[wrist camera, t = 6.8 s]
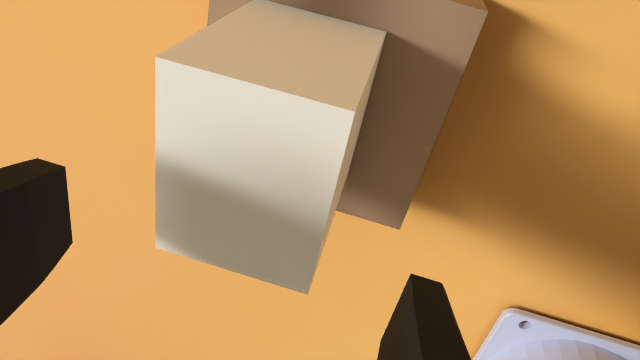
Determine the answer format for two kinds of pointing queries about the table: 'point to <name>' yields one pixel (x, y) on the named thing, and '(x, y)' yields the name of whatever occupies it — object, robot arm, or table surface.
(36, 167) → the robot arm
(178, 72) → the offwhite block
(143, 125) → the table surface
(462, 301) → the table surface
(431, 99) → the walnut base
